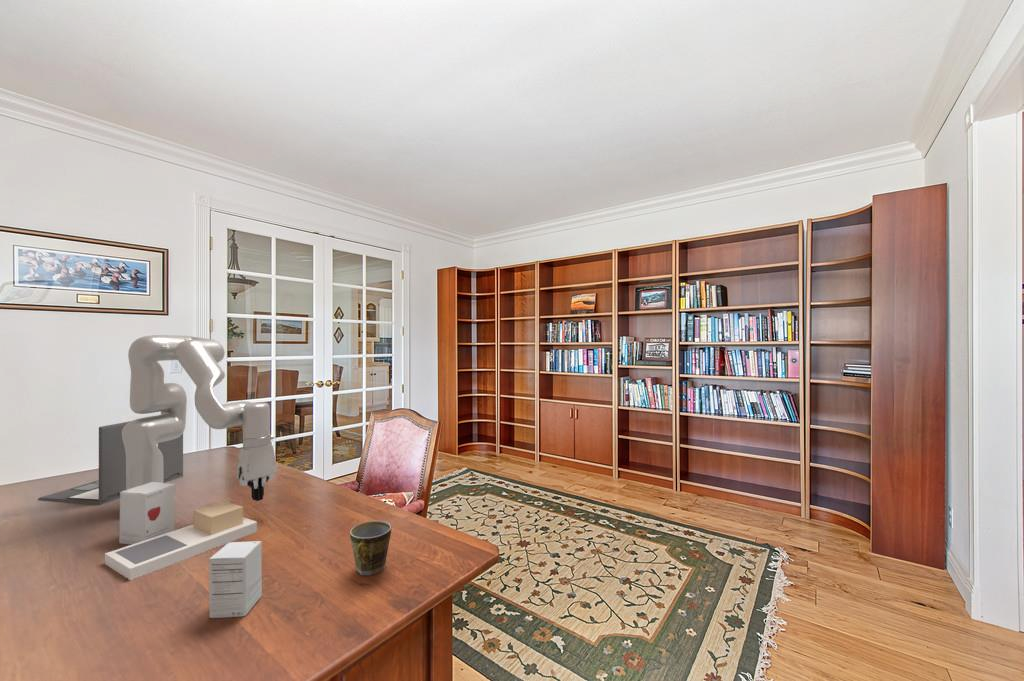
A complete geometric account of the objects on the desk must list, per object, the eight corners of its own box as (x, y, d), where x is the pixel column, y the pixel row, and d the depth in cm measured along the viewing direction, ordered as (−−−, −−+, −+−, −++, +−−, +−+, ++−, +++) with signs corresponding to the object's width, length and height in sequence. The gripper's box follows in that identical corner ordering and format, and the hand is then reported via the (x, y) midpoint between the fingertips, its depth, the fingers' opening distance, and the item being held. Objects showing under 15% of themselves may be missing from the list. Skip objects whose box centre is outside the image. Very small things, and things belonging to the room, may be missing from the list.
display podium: (104, 565, 108) (105, 553, 108) (229, 521, 135) (229, 512, 135) (130, 581, 101) (130, 568, 101) (257, 531, 127) (257, 521, 127)
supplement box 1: (143, 547, 118) (143, 494, 118) (118, 544, 119) (118, 491, 119) (175, 533, 126) (175, 483, 127) (151, 530, 128) (151, 481, 128)
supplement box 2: (228, 597, 95) (228, 541, 95) (263, 596, 95) (263, 540, 95) (207, 619, 87) (207, 558, 87) (245, 617, 88) (245, 556, 88)
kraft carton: (193, 527, 124) (193, 510, 124) (224, 516, 131) (224, 500, 131) (211, 535, 119) (211, 517, 119) (243, 523, 126) (243, 506, 126)
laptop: (129, 475, 181) (129, 410, 181) (184, 478, 178) (184, 411, 178) (37, 503, 150) (37, 424, 150) (101, 507, 146) (101, 427, 146)
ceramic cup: (359, 557, 112) (359, 520, 112) (396, 558, 112) (396, 520, 112) (337, 586, 99) (337, 543, 99) (379, 587, 99) (379, 544, 99)
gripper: (272, 436, 143) (273, 490, 143) (225, 446, 130) (226, 505, 130) (286, 438, 139) (287, 493, 139) (238, 448, 126) (239, 510, 126)
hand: (257, 499), depth 134 cm, fingers closed
